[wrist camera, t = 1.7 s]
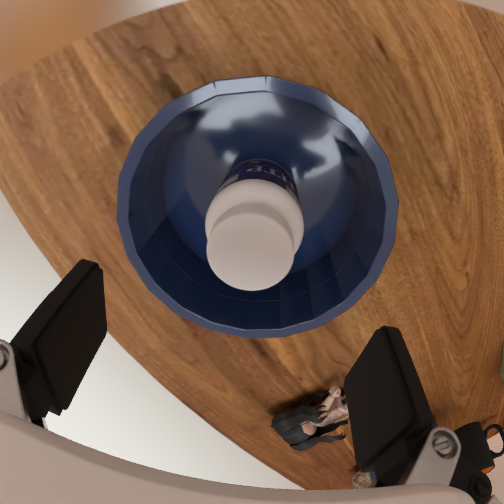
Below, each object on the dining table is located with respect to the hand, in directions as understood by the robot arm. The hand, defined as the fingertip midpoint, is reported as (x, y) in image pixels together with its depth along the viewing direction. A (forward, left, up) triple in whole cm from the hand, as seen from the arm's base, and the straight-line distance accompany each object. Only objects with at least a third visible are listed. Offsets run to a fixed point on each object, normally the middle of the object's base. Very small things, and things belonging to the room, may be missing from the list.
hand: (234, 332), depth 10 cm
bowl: (0, 0, -14) cm, 14 cm away
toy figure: (+21, +14, -14) cm, 29 cm away
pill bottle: (0, 0, -14) cm, 14 cm away
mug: (+31, +49, -14) cm, 60 cm away
